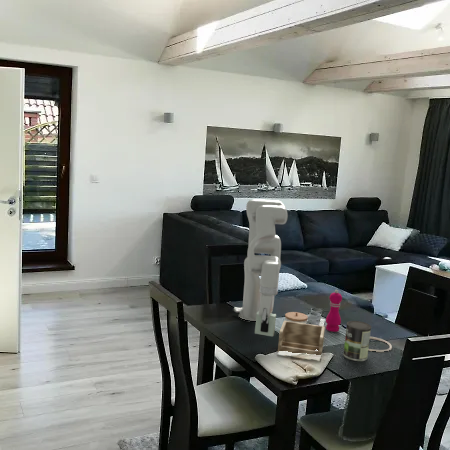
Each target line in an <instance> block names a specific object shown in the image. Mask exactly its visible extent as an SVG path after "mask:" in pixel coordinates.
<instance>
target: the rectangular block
mask: <svg viewBox="0 0 450 450" xmlns="http://www.w3.org/2000/svg"><path fill="white" fill-rule="evenodd" d="M266 316H268V315H266ZM266 319H267V318H266ZM276 320H277V313H272V314H271V316H270V317H269V320H268V323H269V326H268V332H261V331H260V330H261V322H262V315H261V316H260V317H259V311H258V312H257V315H256V322H255V325H254V326H255V327H254V334H255V335H262V336H267V337H275V328H276Z"/></svg>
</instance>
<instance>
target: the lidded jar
mask: <svg viewBox="0 0 450 450" xmlns="http://www.w3.org/2000/svg"><path fill="white" fill-rule="evenodd" d="M308 319H309V317H308V315H307V314H305V313H302V312H298V311H290V312H289V311H288V312H286V313H285V315H284V321H290V322H297V323H304V324H306V323H307V324H308Z"/></svg>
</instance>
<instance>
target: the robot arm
mask: <svg viewBox="0 0 450 450" xmlns="http://www.w3.org/2000/svg"><path fill="white" fill-rule="evenodd" d="M246 216H247V219H248V222H249V224H248V225H249V230H248V246H247V247H248V248H247V256H246V257H245V259H244V260H243V261H244V262H243V266H244V267H243V269H244V285H243V298H242V299H243V300H242V307H236V306H234V308H233V311H234V312H235V313H239V314H238V318H239V317H240V318H242V319H245V320H250V321H256V315H257V312H258V311H259V317H260V316H261V315H262V322H261V330H260V331H261V332H268V326H269V323H268V320H269V317H270V316H271V314H273V310H274V304H275V303H274V302H275V296H276V295H278V291H279V278H280V270H281V268H282V267H281V266H282V261H281V254H282V253H281V252H282V241H281V238H280V237H279V236H280V235H279V236H278V234H276V225H286V223H287V221H288V210H287V207H286V206H285V204H284V203H283V202H282V201H281V200H273V199H272V200H271V199H259V198H258V199H256V198H255V199H249V200H248V201H247V202H246ZM263 254H265V255H263ZM266 254H268V255H266ZM266 315H268V316H266ZM240 318H239V319H240ZM266 318H267V319H266ZM242 319H241V320H242ZM245 320H244V321H245ZM250 321H249V322H250Z"/></svg>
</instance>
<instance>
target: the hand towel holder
mask: <svg viewBox="0 0 450 450" xmlns="http://www.w3.org/2000/svg"><path fill="white" fill-rule="evenodd" d="M370 340H376V341H378V342H383V343H384V342H385V343H384V344H386V343H387V344H386V345H387V346H389V348H387V349H372V348H368V352H372V351H376V352H375V353H385V352H384V351H388V352H390V351H392V349H393V346H392V344H391V343H390V342H389V341H386V340H384V339H383V338H380V337H376V336H375V337H374V336H370ZM389 350H390V351H389Z"/></svg>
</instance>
